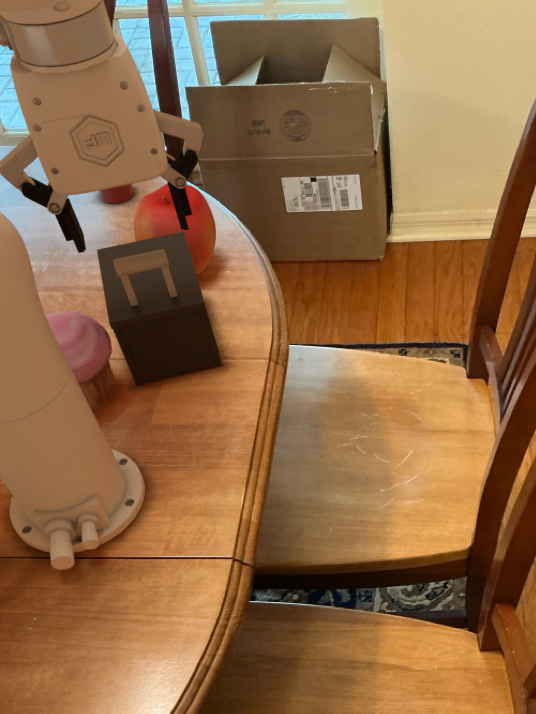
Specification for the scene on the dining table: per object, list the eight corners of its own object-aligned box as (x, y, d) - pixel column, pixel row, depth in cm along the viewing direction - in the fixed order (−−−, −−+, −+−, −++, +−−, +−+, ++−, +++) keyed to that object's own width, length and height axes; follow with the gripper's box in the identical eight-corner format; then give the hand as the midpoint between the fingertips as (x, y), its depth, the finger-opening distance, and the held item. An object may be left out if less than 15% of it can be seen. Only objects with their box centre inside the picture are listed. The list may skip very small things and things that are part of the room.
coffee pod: (135, 200, 106) (125, 169, 103) (103, 206, 106) (92, 175, 102) (132, 184, 109) (121, 153, 105) (100, 190, 108) (89, 159, 105)
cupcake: (103, 432, 80) (67, 358, 72) (31, 417, 82) (-13, 343, 74) (143, 375, 85) (112, 300, 77) (74, 363, 87) (37, 288, 79)
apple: (185, 239, 101) (164, 164, 92) (241, 261, 97) (224, 185, 89) (133, 278, 96) (106, 203, 88) (190, 302, 93) (167, 227, 85)
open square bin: (222, 365, 86) (205, 304, 79) (136, 386, 84) (111, 325, 78) (203, 299, 93) (185, 238, 86) (123, 317, 91) (99, 256, 85)
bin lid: (206, 308, 79) (191, 257, 74) (111, 329, 77) (90, 279, 72) (185, 237, 86) (171, 187, 81) (99, 255, 85) (79, 205, 80)
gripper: (-58, 73, 55) (41, 276, 69) (181, 31, 58) (230, 235, 72) (-56, 31, 59) (37, 231, 73) (166, -6, 62) (215, 194, 76)
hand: (132, 233), depth 73 cm, fingers open, 9 cm apart
